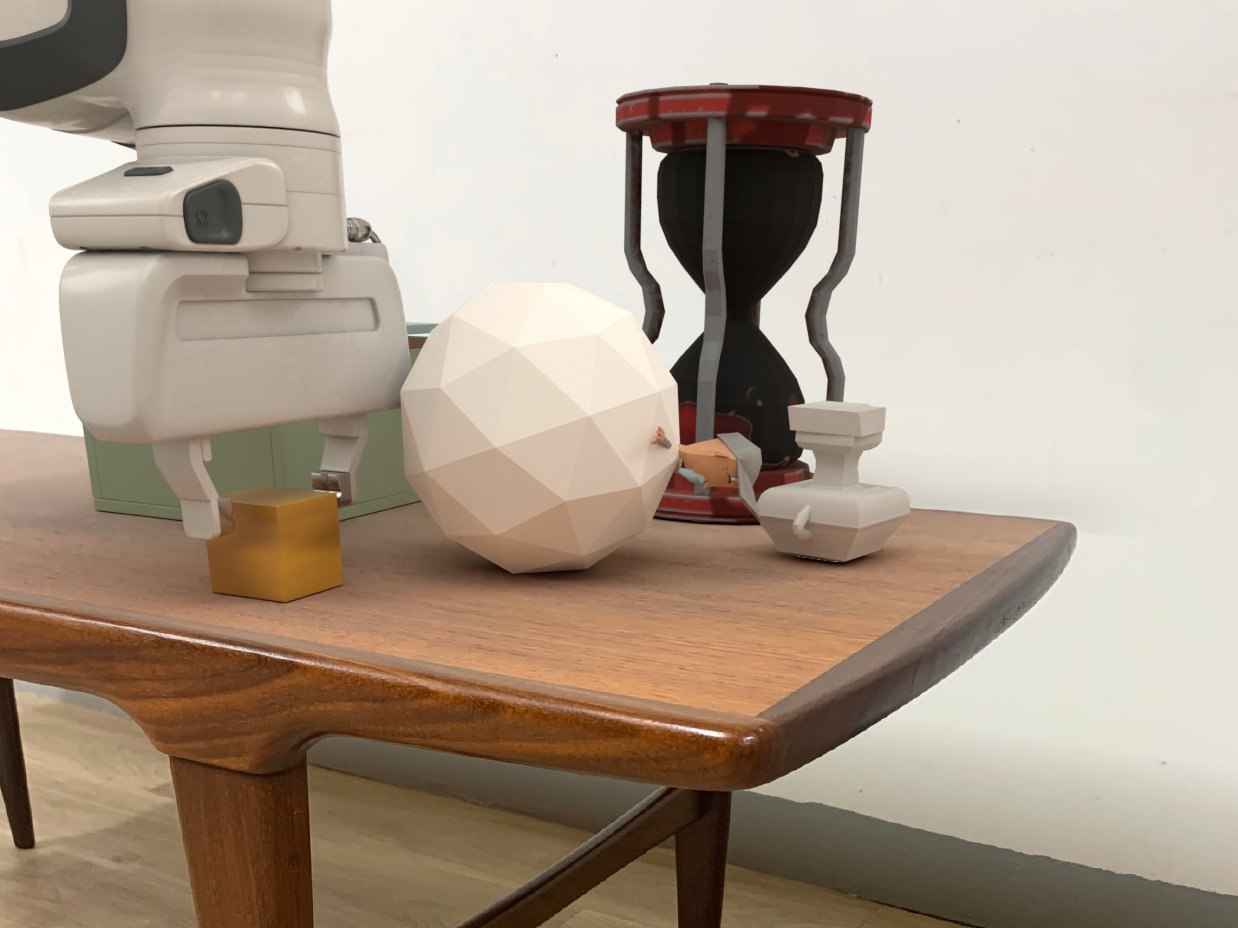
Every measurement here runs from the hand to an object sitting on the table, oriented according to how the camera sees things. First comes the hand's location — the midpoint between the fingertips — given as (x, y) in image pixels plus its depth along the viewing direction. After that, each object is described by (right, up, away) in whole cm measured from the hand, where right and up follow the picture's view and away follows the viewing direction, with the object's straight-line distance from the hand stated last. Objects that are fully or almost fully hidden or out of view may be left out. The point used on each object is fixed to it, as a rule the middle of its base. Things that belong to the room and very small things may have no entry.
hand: (277, 520), depth 64 cm
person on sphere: (+14, -1, +6) cm, 16 cm away
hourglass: (+24, +8, +27) cm, 37 cm away
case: (-7, +8, +25) cm, 27 cm away
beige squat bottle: (+29, 0, +11) cm, 31 cm away
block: (0, -3, +1) cm, 3 cm away
